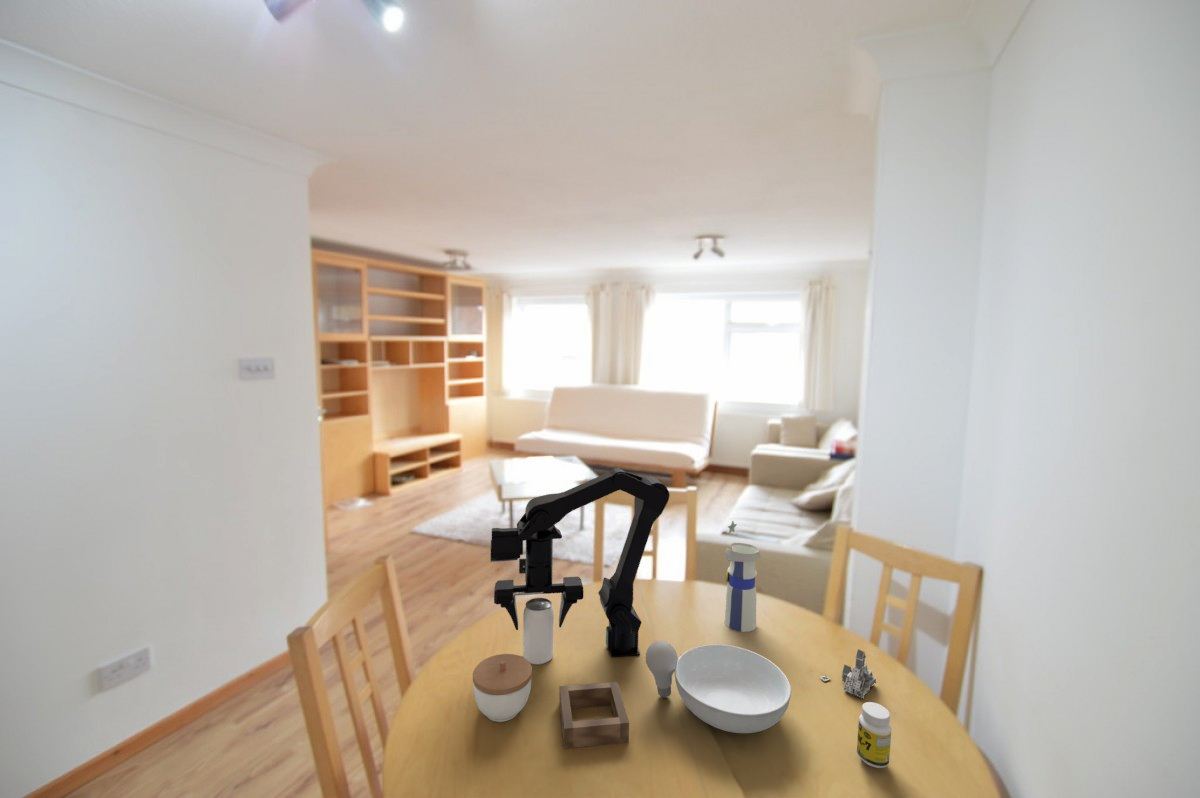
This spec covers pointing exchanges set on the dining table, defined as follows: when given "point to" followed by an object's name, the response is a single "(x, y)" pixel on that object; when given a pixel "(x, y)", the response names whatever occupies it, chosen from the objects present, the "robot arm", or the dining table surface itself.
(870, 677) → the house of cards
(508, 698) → the lidded jar
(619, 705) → the sleeve block
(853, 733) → the dining table surface
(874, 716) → the supplement bottle
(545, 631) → the can
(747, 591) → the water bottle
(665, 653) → the lightbulb
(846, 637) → the dining table surface
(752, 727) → the serving bowl
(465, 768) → the dining table surface
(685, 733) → the dining table surface
